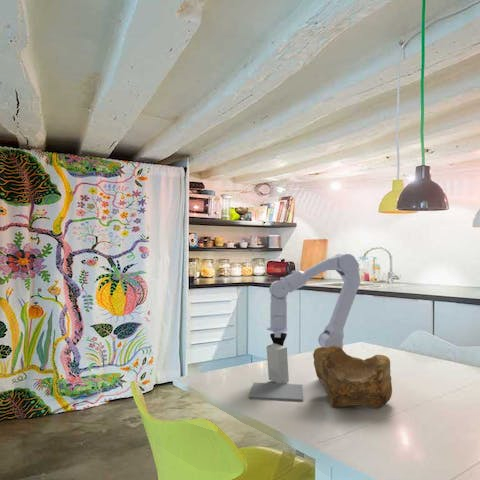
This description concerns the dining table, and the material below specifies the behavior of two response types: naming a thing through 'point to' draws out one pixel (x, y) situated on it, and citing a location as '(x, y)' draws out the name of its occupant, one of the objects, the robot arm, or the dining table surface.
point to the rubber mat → (276, 391)
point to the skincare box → (277, 363)
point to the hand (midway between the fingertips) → (278, 354)
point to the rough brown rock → (353, 378)
